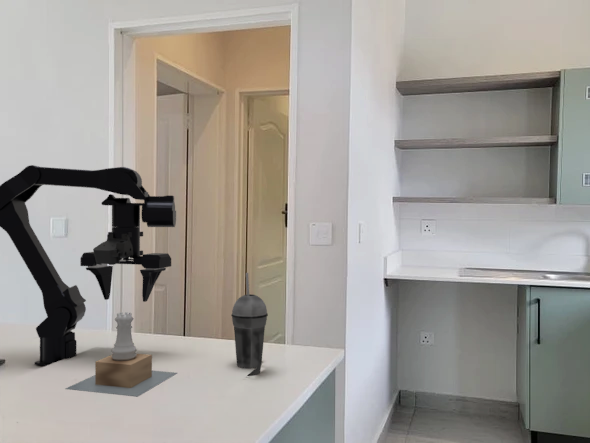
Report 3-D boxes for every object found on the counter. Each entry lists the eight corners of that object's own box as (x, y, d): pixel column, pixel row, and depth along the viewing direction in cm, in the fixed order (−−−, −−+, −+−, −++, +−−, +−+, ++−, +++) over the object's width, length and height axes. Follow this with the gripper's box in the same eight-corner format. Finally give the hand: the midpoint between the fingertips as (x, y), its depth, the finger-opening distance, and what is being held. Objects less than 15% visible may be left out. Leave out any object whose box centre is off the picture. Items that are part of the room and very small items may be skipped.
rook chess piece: (129, 362, 96) (129, 316, 95) (106, 360, 96) (106, 315, 96) (141, 355, 100) (141, 312, 100) (118, 354, 101) (119, 311, 101)
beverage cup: (273, 370, 111) (274, 271, 110) (256, 379, 104) (257, 275, 104) (242, 365, 114) (243, 269, 113) (223, 374, 107) (224, 273, 107)
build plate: (64, 397, 93) (64, 388, 93) (112, 374, 107) (113, 366, 107) (137, 405, 90) (137, 396, 90) (177, 380, 103) (177, 372, 103)
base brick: (95, 384, 96) (95, 361, 96) (118, 373, 102) (118, 352, 102) (130, 388, 94) (130, 364, 94) (151, 376, 101) (151, 354, 101)
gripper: (62, 227, 111) (62, 304, 111) (145, 228, 106) (144, 309, 106) (96, 226, 121) (96, 296, 121) (172, 227, 116) (172, 300, 117)
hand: (125, 300), depth 116 cm, fingers open, 9 cm apart
